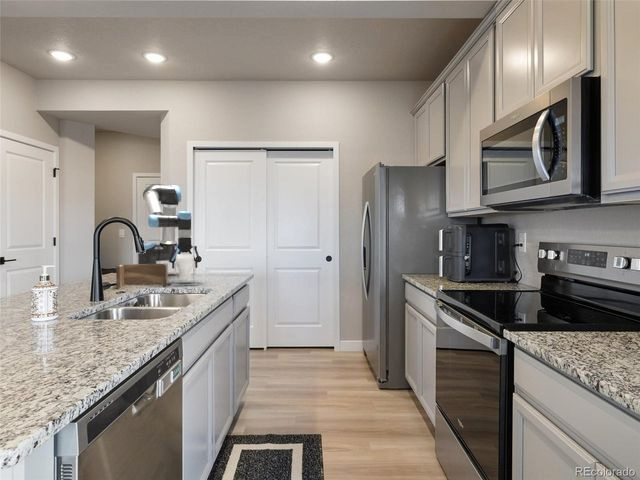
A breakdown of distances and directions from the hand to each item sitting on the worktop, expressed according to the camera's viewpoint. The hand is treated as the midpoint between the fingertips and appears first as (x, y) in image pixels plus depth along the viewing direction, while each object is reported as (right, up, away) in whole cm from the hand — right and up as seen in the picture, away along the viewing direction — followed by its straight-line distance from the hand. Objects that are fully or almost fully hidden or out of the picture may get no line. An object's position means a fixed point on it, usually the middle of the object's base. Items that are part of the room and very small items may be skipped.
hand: (184, 273), depth 226 cm
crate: (-22, -6, -7) cm, 24 cm away
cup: (0, -3, 0) cm, 3 cm away
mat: (0, -6, 0) cm, 6 cm away
